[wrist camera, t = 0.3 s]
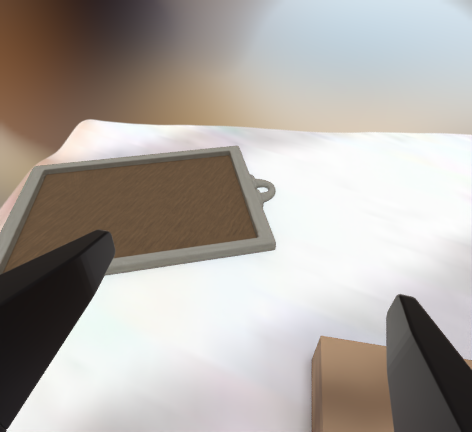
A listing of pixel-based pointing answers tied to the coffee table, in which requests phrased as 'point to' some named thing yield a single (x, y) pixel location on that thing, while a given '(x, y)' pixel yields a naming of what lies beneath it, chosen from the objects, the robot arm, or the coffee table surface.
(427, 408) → the robot arm
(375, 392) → the overhang
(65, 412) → the coffee table surface
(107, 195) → the grey picture frame
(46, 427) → the coffee table surface
